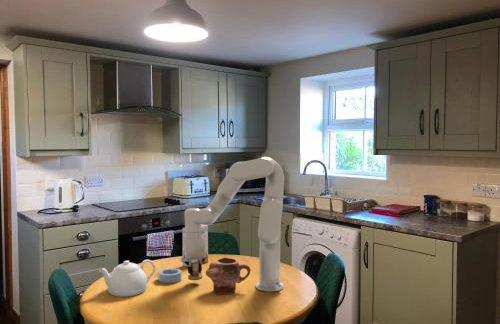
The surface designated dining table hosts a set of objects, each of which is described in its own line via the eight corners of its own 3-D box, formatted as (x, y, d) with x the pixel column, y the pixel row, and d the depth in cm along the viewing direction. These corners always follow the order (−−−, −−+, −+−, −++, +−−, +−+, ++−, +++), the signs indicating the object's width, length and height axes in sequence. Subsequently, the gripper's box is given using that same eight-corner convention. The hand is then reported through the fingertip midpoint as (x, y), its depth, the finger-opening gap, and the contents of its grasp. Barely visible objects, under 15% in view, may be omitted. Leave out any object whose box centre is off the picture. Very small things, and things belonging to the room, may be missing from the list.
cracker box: (200, 260, 238) (200, 223, 238) (208, 262, 235) (208, 224, 234) (182, 265, 228) (182, 227, 227) (189, 268, 224) (189, 228, 223)
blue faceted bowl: (184, 281, 202) (184, 273, 202) (162, 284, 197) (162, 276, 197) (177, 275, 211) (177, 267, 211) (156, 278, 207) (156, 270, 206)
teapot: (137, 300, 178) (137, 268, 178) (98, 296, 182) (97, 265, 181) (156, 285, 197) (156, 256, 196) (119, 282, 200) (119, 254, 200)
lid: (204, 278, 197) (203, 263, 197) (190, 281, 194) (190, 265, 194) (199, 275, 203) (198, 260, 203) (186, 277, 200) (185, 262, 200)
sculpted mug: (247, 284, 198) (247, 255, 197) (253, 294, 186) (253, 262, 185) (204, 287, 194) (204, 257, 193) (207, 297, 182) (207, 265, 181)
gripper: (207, 231, 205) (208, 268, 206) (173, 235, 197) (175, 274, 198) (213, 234, 198) (214, 272, 199) (178, 238, 191) (180, 278, 192)
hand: (195, 273), depth 199 cm, fingers closed on lid, 3 cm apart
